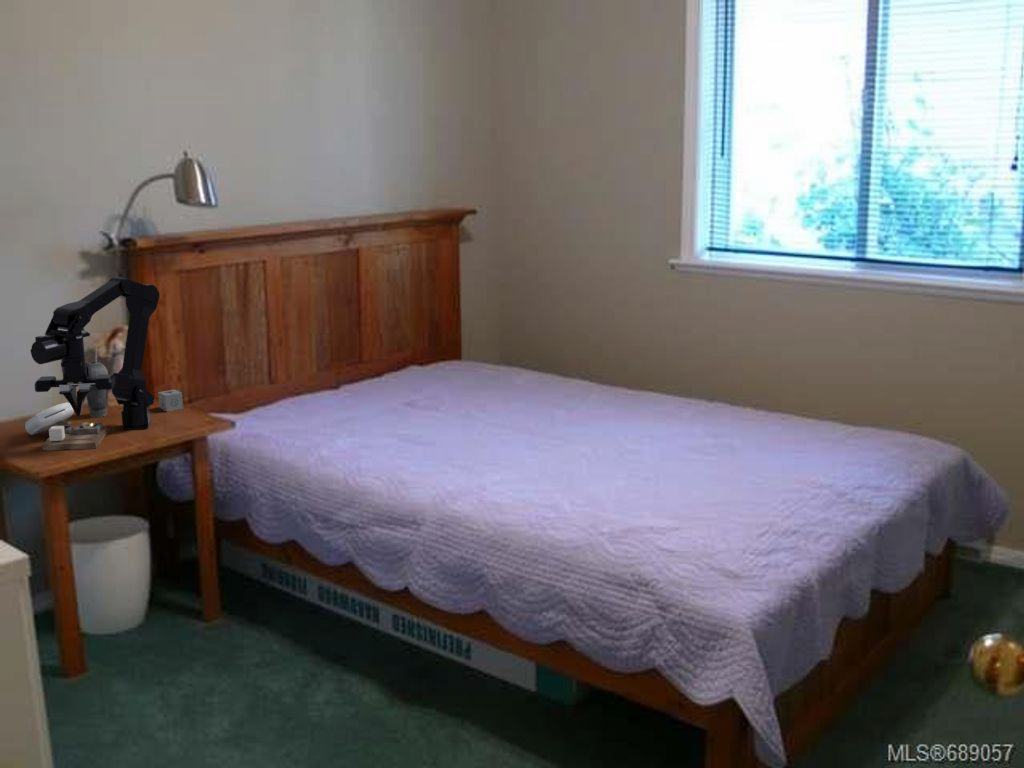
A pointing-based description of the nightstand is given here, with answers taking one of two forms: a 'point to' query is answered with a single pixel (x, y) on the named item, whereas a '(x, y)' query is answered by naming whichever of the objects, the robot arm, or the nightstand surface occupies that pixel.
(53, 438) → the slider knob
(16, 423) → the nightstand surface
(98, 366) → the beverage cup
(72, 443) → the control panel
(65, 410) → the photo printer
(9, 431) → the nightstand surface
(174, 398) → the dice cube
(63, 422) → the rocker switch
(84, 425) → the brass button
